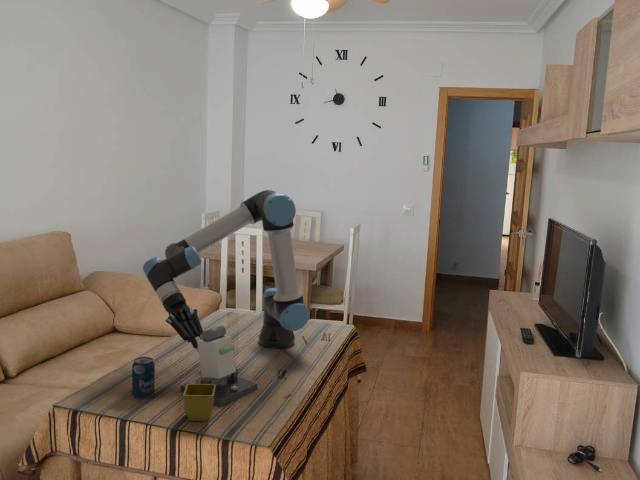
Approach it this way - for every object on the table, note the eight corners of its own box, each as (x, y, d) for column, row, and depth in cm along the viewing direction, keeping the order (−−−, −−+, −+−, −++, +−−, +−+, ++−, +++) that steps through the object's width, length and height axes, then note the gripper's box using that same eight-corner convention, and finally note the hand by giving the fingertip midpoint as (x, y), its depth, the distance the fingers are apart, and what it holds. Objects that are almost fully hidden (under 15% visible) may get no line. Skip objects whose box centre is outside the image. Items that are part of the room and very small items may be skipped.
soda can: (142, 401, 189) (142, 365, 187) (127, 396, 192) (127, 360, 190) (159, 394, 194) (159, 359, 192) (144, 389, 198) (144, 354, 196)
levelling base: (180, 391, 198) (180, 375, 197) (218, 375, 213) (218, 360, 212) (220, 406, 188) (220, 390, 187) (257, 389, 203) (258, 373, 202)
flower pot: (186, 410, 184) (187, 383, 183) (215, 411, 185) (216, 383, 183) (182, 424, 175) (182, 395, 174) (212, 424, 176) (213, 395, 175)
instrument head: (200, 384, 198) (193, 331, 197) (221, 376, 206) (215, 324, 205) (221, 386, 192) (214, 331, 192) (242, 377, 201) (235, 325, 200)
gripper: (180, 300, 216) (212, 355, 209) (151, 307, 205) (184, 365, 199) (190, 288, 212) (224, 344, 206) (161, 294, 202) (196, 354, 195)
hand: (204, 354), depth 202 cm, fingers closed
